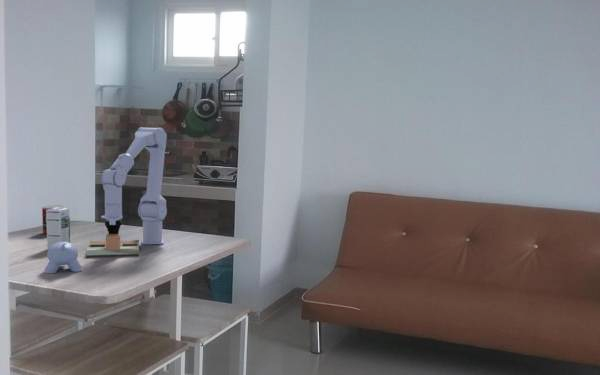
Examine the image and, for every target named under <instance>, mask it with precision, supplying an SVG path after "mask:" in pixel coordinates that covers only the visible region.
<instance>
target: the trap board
mask: <svg viewBox="0 0 600 375" xmlns="http://www.w3.org/2000/svg"><path fill="white" fill-rule="evenodd" d="M139 252H140V240H139V239H120V249H110V250H106V240H90V241H89V244H88V246H87V248H86V258H98V257H99V258H103V257H104V258H107V257H139V254H140V253H139Z"/></svg>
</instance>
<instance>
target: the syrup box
mask: <svg viewBox="0 0 600 375" xmlns="http://www.w3.org/2000/svg"><path fill="white" fill-rule="evenodd" d="M46 220H47V234H46V242H47V243H46V244H47V245H46V246H47V250H48V249H49V248H50V247H51V246H52V245H53V244H55V243H58V242H68V243H71V224H70V223H71V222H70V221H71V220H70V208H69V207H63V208H62V207H60V208H53V209H48V210H46Z"/></svg>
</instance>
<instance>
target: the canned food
mask: <svg viewBox="0 0 600 375" xmlns="http://www.w3.org/2000/svg"><path fill="white" fill-rule="evenodd" d="M60 207H62V208H64V205H60V204H59V205H58V204H54V205H53V204H51V205H50V204H49V205H43V206H42V208H41V209H42V210H41V211H42V233H43V234H44V235H47V220H46V210H48V209H53V208H60Z"/></svg>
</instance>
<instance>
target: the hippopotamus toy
mask: <svg viewBox="0 0 600 375" xmlns="http://www.w3.org/2000/svg"><path fill="white" fill-rule="evenodd" d="M78 256H79V251H78V248H77V247H76V246H75V245H74V244H73V243H72V242H70V243H68V242H58V243H55V244H53V245H52V246H51V247H50V248H49V249H48V248H47V253H46V257H47V259H48V261H49V262H48V263H47V265H46V267H45V268H44V270H45V271H44V273H45V274H55V273H57V272H58V270H59V268H60V267H61V266H67V267H68V268H69V270H70V271H71V272H75V273H76V272H77V273H79V272H82V271H83V267H82V264H81V263H80V261H79V259H78Z"/></svg>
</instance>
